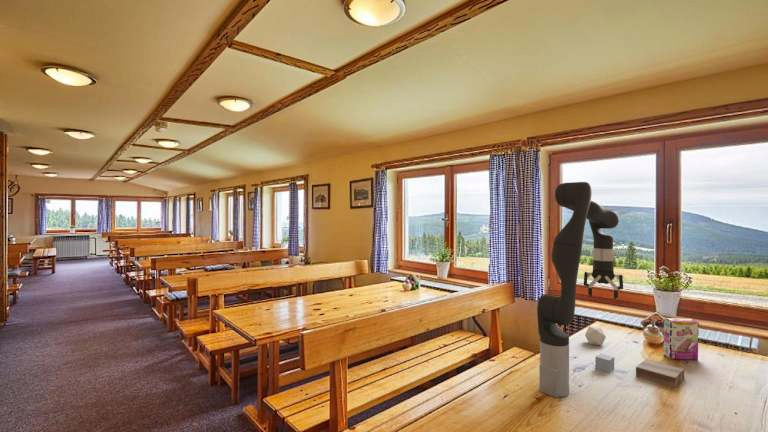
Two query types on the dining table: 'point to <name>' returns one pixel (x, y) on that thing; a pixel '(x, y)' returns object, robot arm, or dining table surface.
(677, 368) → the walnut block
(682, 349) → the candy bar box
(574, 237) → the robot arm
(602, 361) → the slate cube
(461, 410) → the dining table surface
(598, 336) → the die
